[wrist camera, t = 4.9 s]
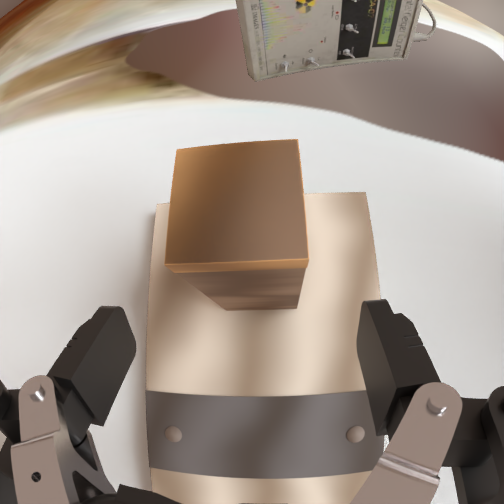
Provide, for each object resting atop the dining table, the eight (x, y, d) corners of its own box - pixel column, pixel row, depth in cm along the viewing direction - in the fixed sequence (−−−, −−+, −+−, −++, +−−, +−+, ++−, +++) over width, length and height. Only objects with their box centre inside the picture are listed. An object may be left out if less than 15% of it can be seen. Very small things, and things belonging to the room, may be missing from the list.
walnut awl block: (294, 241, 21) (297, 139, 11) (297, 309, 20) (308, 259, 10) (226, 244, 22) (176, 149, 12) (226, 311, 20) (164, 265, 10)
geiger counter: (236, -31, 16) (470, -20, 15) (219, -46, 18) (433, -43, 17) (255, 88, 29) (441, 64, 28) (239, 57, 31) (414, 37, 31)
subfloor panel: (361, 201, 23) (365, 191, 22) (371, 504, 16) (377, 513, 14) (163, 212, 25) (156, 203, 23) (161, 502, 17) (153, 510, 16)
